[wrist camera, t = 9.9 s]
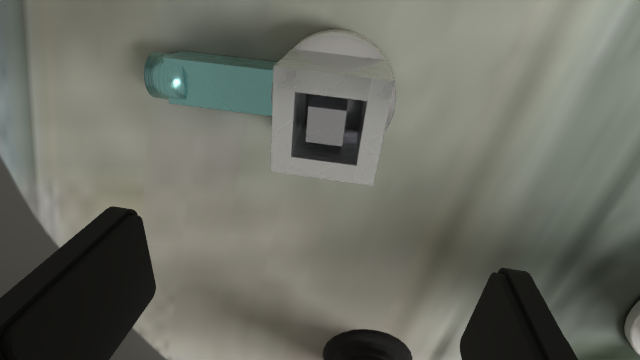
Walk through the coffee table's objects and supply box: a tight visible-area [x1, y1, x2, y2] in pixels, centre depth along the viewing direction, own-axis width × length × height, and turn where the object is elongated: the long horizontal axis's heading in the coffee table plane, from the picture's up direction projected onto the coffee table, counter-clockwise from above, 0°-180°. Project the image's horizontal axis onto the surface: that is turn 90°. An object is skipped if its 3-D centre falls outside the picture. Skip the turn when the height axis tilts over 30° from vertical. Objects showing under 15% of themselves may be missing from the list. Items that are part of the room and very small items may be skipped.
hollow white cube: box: [271, 49, 395, 186], centre depth 20 cm, size 6×6×5 cm
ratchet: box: [144, 29, 396, 146], centre depth 21 cm, size 16×8×7 cm, turn 85°
